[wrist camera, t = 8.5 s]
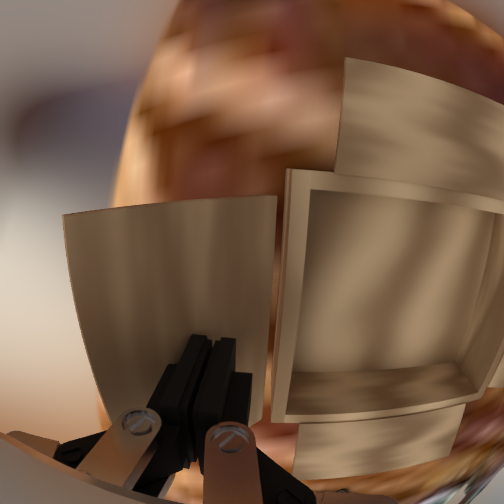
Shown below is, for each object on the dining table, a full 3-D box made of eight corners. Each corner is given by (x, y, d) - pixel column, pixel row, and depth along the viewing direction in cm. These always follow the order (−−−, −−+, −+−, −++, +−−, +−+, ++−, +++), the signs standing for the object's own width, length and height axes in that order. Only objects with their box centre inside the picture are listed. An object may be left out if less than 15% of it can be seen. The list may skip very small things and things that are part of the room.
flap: (277, 195, 12) (63, 216, 7) (261, 418, 15) (139, 482, 10) (270, 194, 12) (62, 214, 7) (256, 415, 16) (136, 477, 10)
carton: (533, 151, 15) (590, 157, 8) (471, 395, 22) (499, 437, 15) (288, 91, 16) (299, 49, 9) (267, 415, 22) (265, 480, 16)
